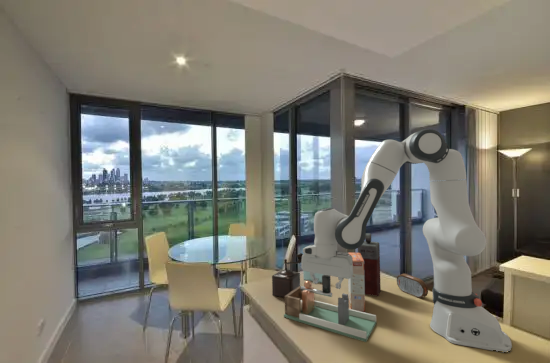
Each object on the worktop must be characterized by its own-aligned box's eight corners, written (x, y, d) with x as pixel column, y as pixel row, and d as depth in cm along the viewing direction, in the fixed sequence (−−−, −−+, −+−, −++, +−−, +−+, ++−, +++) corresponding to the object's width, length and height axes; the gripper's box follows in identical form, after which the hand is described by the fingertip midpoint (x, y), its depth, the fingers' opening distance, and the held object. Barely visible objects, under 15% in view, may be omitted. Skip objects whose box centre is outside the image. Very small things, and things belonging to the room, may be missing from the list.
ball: (297, 300, 113) (302, 309, 112) (292, 304, 110) (297, 313, 109) (304, 296, 111) (309, 306, 110) (299, 300, 108) (304, 310, 107)
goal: (313, 305, 114) (313, 289, 114) (299, 318, 103) (299, 299, 104) (299, 302, 117) (299, 286, 118) (284, 313, 107) (284, 296, 107)
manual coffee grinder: (292, 300, 122) (291, 260, 122) (271, 295, 128) (271, 257, 128) (306, 288, 136) (305, 252, 136) (287, 284, 141) (286, 250, 141)
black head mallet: (334, 313, 105) (334, 274, 105) (329, 320, 100) (328, 279, 100) (305, 306, 112) (304, 269, 113) (298, 312, 107) (297, 273, 108)
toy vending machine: (357, 285, 137) (355, 231, 137) (380, 289, 132) (379, 232, 132) (353, 292, 129) (352, 234, 129) (378, 296, 124) (376, 235, 124)
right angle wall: (324, 283, 142) (324, 269, 142) (303, 280, 148) (303, 266, 148) (331, 276, 153) (330, 263, 153) (311, 273, 158) (311, 261, 159)
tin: (428, 299, 120) (428, 280, 120) (424, 301, 118) (423, 282, 118) (400, 288, 133) (399, 271, 133) (395, 289, 132) (395, 272, 132)
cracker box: (366, 312, 109) (364, 260, 109) (350, 311, 110) (349, 260, 110) (362, 298, 123) (360, 252, 123) (348, 297, 124) (347, 251, 124)
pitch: (376, 323, 100) (375, 295, 100) (366, 342, 89) (365, 310, 89) (300, 303, 118) (300, 280, 118) (283, 317, 106) (283, 290, 107)
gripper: (355, 251, 101) (355, 288, 101) (306, 245, 112) (307, 278, 112) (349, 255, 96) (350, 294, 95) (299, 248, 107) (299, 283, 107)
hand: (326, 285), depth 104 cm, fingers open, 8 cm apart
